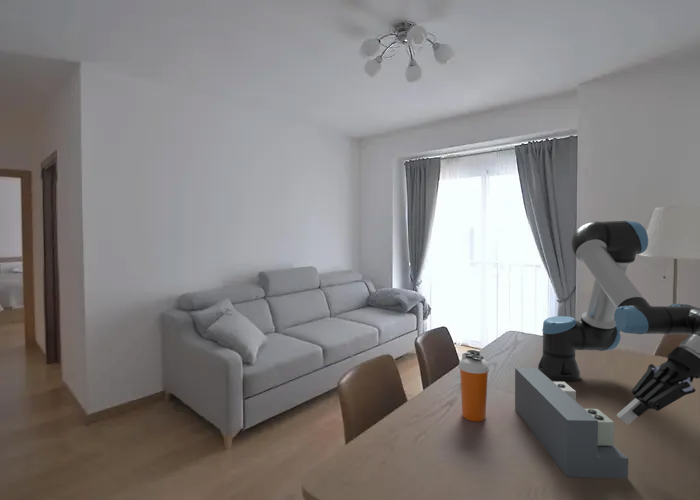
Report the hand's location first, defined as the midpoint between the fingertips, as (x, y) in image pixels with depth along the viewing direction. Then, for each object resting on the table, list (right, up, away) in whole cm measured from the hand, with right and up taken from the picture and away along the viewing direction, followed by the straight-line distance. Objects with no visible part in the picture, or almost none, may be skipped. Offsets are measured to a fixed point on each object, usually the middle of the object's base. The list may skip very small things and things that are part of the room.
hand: (621, 419), depth 96 cm
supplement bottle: (-21, -8, +51) cm, 56 cm away
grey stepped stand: (-9, -10, +10) cm, 17 cm away
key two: (-6, -5, +1) cm, 8 cm away
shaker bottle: (-30, -10, +24) cm, 40 cm away
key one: (-5, -4, +19) cm, 20 cm away
